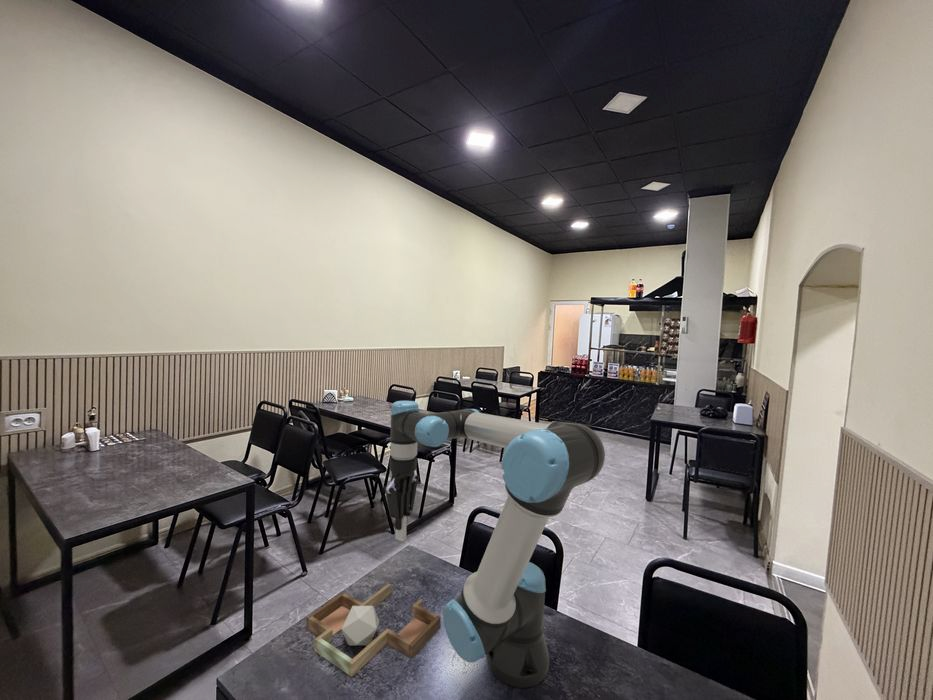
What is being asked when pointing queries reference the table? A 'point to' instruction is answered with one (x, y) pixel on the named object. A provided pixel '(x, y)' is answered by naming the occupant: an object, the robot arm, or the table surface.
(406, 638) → the channel
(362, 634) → the die
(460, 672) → the table surface
